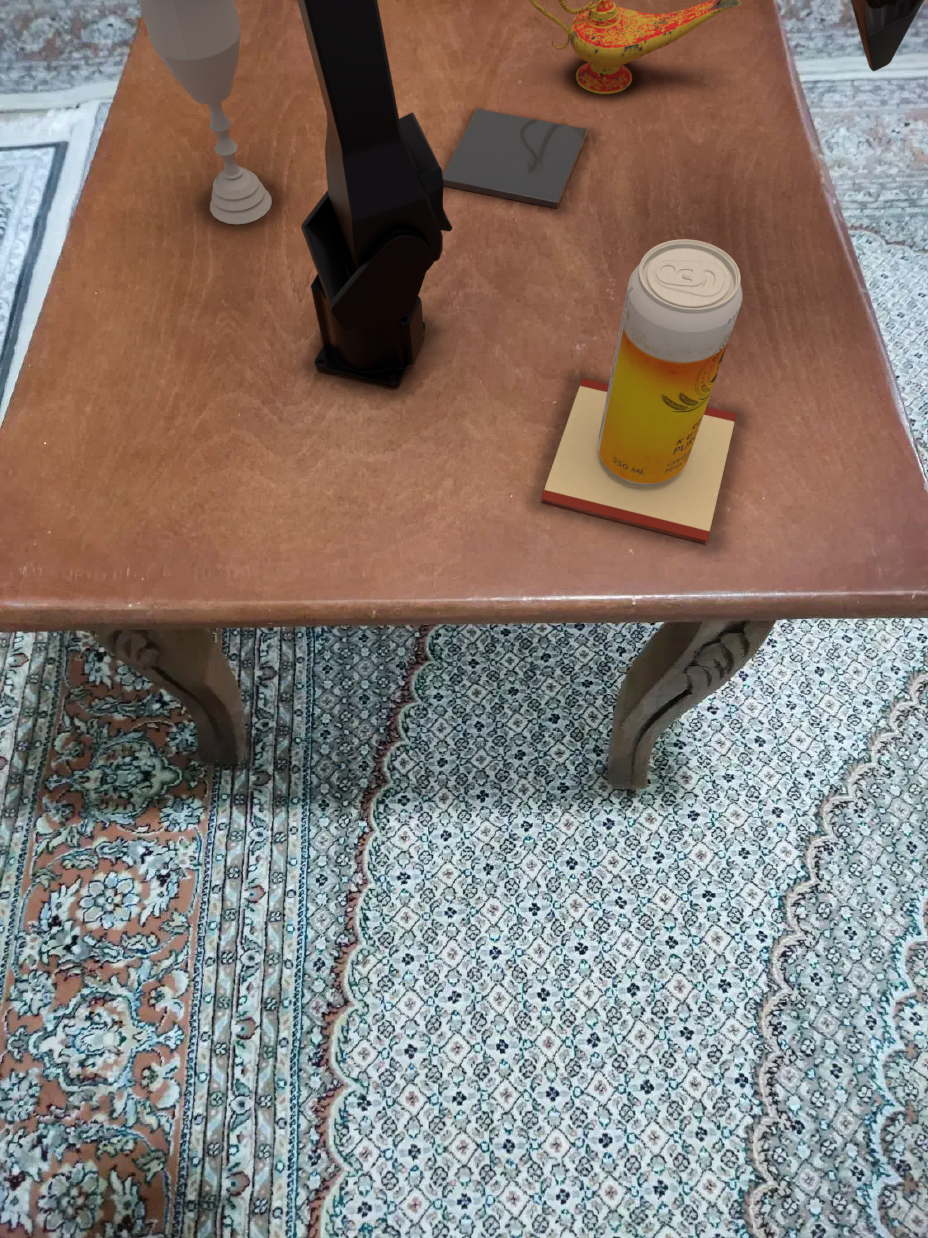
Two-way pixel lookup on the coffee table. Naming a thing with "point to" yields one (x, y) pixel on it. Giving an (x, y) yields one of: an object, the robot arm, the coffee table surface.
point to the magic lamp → (624, 37)
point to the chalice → (208, 87)
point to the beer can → (667, 358)
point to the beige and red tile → (655, 507)
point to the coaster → (515, 158)
